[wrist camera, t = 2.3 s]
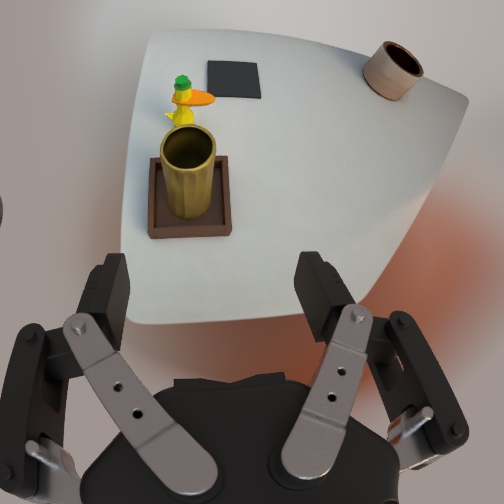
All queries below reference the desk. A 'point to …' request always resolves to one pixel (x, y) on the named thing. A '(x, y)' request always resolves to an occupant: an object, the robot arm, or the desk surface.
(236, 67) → the mat
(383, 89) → the planter
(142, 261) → the desk surface
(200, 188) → the vase
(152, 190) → the tray
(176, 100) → the toy figure
